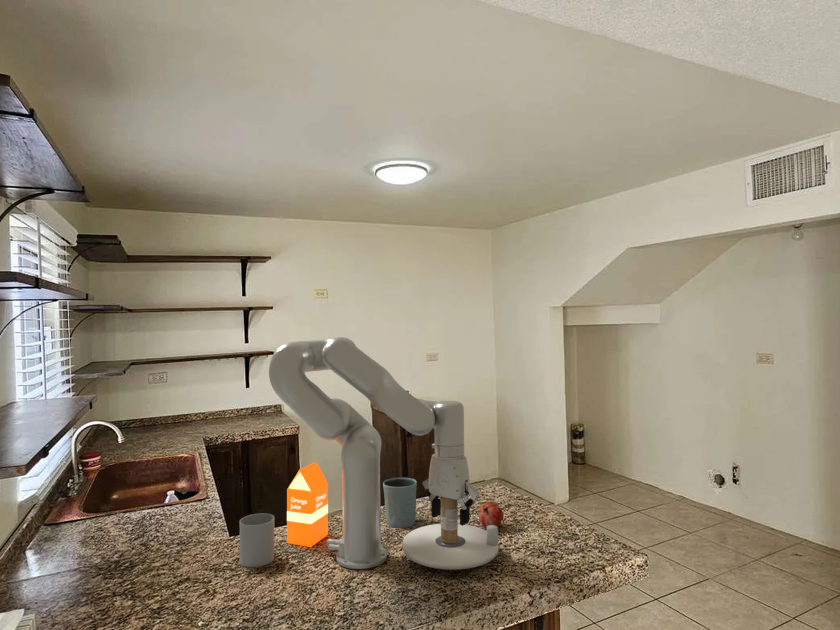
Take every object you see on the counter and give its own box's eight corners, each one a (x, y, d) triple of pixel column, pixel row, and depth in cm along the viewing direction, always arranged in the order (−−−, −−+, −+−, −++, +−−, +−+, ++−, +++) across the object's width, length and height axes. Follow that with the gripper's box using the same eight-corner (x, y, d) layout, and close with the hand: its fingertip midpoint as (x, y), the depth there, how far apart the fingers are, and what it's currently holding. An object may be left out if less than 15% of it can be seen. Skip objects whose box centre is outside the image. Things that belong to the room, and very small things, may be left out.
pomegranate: (486, 528, 153) (466, 514, 148) (498, 506, 155) (479, 492, 150) (503, 539, 147) (483, 525, 142) (515, 516, 149) (496, 501, 144)
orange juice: (286, 543, 138) (286, 468, 139) (304, 531, 146) (304, 460, 147) (311, 547, 135) (311, 471, 136) (328, 534, 144) (328, 462, 144)
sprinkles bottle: (439, 537, 131) (438, 484, 132) (456, 536, 132) (456, 483, 132) (442, 545, 127) (441, 490, 127) (460, 543, 127) (459, 489, 127)
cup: (280, 559, 128) (280, 519, 129) (250, 570, 122) (250, 528, 123) (263, 549, 134) (263, 511, 135) (233, 560, 128) (233, 519, 129)
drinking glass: (416, 529, 147) (416, 487, 148) (381, 529, 147) (381, 487, 148) (417, 516, 157) (417, 476, 158) (384, 516, 157) (384, 477, 158)
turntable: (394, 574, 119) (394, 542, 119) (411, 534, 143) (411, 507, 143) (498, 581, 115) (498, 547, 116) (498, 538, 139) (498, 510, 139)
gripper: (413, 448, 132) (414, 516, 132) (470, 458, 122) (471, 532, 121) (431, 443, 138) (431, 508, 138) (486, 452, 127) (487, 523, 127)
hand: (450, 519), depth 129 cm, fingers open, 8 cm apart
